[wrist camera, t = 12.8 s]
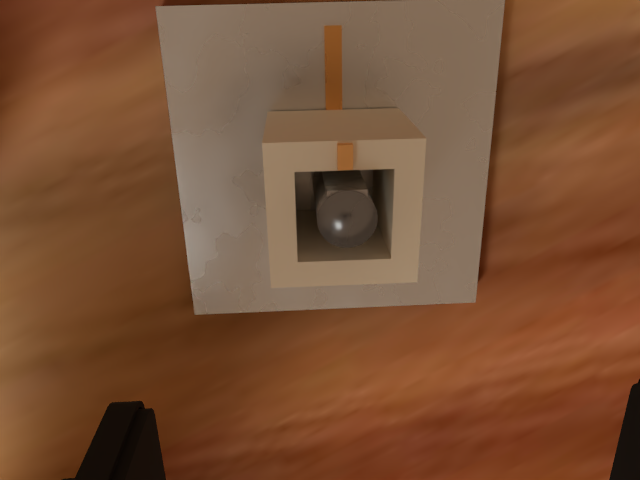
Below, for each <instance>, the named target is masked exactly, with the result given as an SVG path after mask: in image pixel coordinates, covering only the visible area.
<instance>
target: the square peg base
mask: <svg viewBox="0 0 640 480" xmlns="http://www.w3.org/2000/svg"><path fill="white" fill-rule="evenodd" d="M504 6H505V0H392V1H350V2H309V3H268V4H227V5H186V6H155V7H156V15H157V23H158V31H159V39H160V46H161V54H162V62H163V70H164V78H165V86H166V94H167V101H168V109H169V117H170V125H171V133H172V141H173V149H174V157H175V164H176V172H177V180H178V188H179V196H180V204H181V212H182V219H183V227H184V235H185V243H186V251H187V259H188V267H189V275H190V282H191V290H192V298H193V306H194V314H195V315H202V314H225V313H247V312H269V311H292V310H314V309H337V308H359V307H381V306H404V305H426V304H448V303H471V302H476V292H477V282H478V272H479V261H480V251H481V241H482V231H483V221H484V210H485V200H486V190H487V180H488V169H489V159H490V149H491V139H492V129H493V118H494V108H495V98H496V88H497V78H498V67H499V57H500V47H501V37H502V26H503V16H504ZM382 108H399V109H400V110H401V111H402V112H403V113H404V114H405V115H406V116H407V117H408V119H409V120H410V121H411V122H412V123H413V124H414V125H415V126H416V127H417V128H418V129H419V131H420V132H421V133H422V134H423V135H424V136H425V137H426V138H427V139H426V155H425V170H424V186H423V201H422V217H421V232H420V248H419V264H418V279H417V282H413V283H388V284H362V285H337V286H311V287H286V288H271V281H270V265H269V249H268V233H267V216H266V200H265V184H264V168H263V151H262V140H263V135H264V129H265V124H266V118H267V112H270V111H307V110H345V109H382ZM372 190H373V170H343V171H311V172H295V193H296V211H303V210H316V215H317V223H318V228H319V231H320V233H321V235H322V236H323V237H324V239H325V240H326V241H328V242H329V243H331V244H332V245H335V246H338V247H342V248H351V247H356V246H358V245H361V244H363V243H364V242H366V241H367V240H368V239H369V238H370V237H371V236H372V235H373V233H374V231H375V229H376V227H377V223H378V214H377V210H376V207H375V205H374V203H373V200H372Z"/></svg>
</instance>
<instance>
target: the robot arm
mask: <svg viewBox="0 0 640 480" xmlns="http://www.w3.org/2000/svg"><path fill="white" fill-rule="evenodd" d="M62 480H166V478H165V472H164V466H163V460H162V454H161V448H160V443H159V437H158V431H157V425H156V419H155V414H154V410H153V409H152V408H148V409H145V407H144V404H143V402H141V401H132V402H112V403H110V404H109V406H108V407H107V410H106V412H105V414H104V416H103V418H102V420H101V423H100V425H99V427H98V429H97V431H96V434H95V436H94V438H93V440H92V442H91V444H90V447H89V449H88V451H87V453H86V455H85V457H84V460H83V462H82V464H81V466H80V468H79V471H78V473H77V475H76V477H75V478H68V479H62ZM609 480H640V379H639V381H638V383H637V384H634V385H633V386H632V388H631V391H630V395H629V399H628V403H627V407H626V412H625V416H624V420H623V424H622V429H621V433H620V437H619V441H618V445H617V450H616V454H615V458H614V462H613V467H612V471H611V475H610V479H609Z"/></svg>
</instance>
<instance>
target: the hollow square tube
mask: <svg viewBox="0 0 640 480" xmlns="http://www.w3.org/2000/svg"><path fill="white" fill-rule="evenodd" d="M426 139H427V138H426V137H425V136H424V135H423V134H422V133H421V132H420V131H419V129H418V128H417V127H416V126H415V125H414V124H413V123H412V122H411V121H410V120H409V119H408V117H407V116H406V115H405V114H404V113H403V112H402V111H401V110H400V109H399V108H382V109H345V110H307V111H270V112H267V118H266V124H265V129H264V135H263V140H262V151H263V168H264V184H265V200H266V216H267V233H268V249H269V265H270V281H271V288H286V287H311V286H337V285H362V284H388V283H413V282H417V279H418V264H419V248H420V232H421V217H422V201H423V186H424V170H425V155H426ZM343 170H373V190H372V200H373V203H374V205H375V207H376V210H377V214H378V223H377V227H376V229H375V231H374V233H373V235H372V236H371V237H370V238H369V239H368V240H367V241H366V242H364V243H363V244H361V245H358V246H356V247H351V248H342V247H338V246H335V245H332V244H331V243H329V242H328V241H326V240H325V239H324V237H323V236H322V235H321V233H320V231H319V228H318V223H317V215H316V210H303V211H296V193H295V172H311V171H343Z"/></svg>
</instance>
